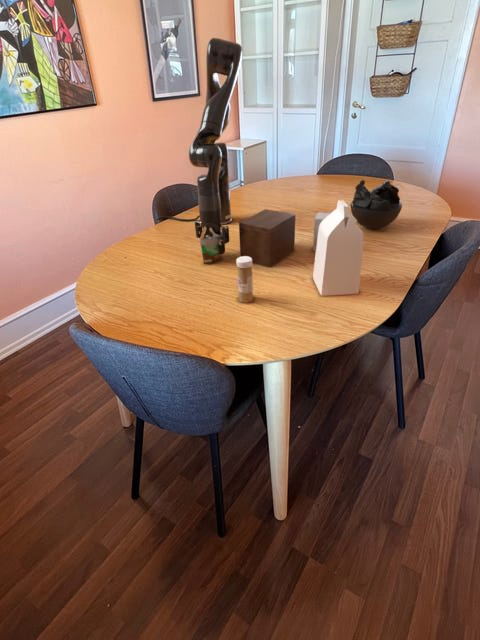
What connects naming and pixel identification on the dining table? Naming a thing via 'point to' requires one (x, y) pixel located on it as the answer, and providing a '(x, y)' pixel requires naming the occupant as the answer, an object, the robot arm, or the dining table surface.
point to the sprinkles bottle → (245, 278)
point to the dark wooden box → (267, 236)
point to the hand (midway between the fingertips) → (213, 251)
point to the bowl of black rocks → (376, 205)
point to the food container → (210, 249)
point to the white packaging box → (317, 221)
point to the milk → (338, 253)
